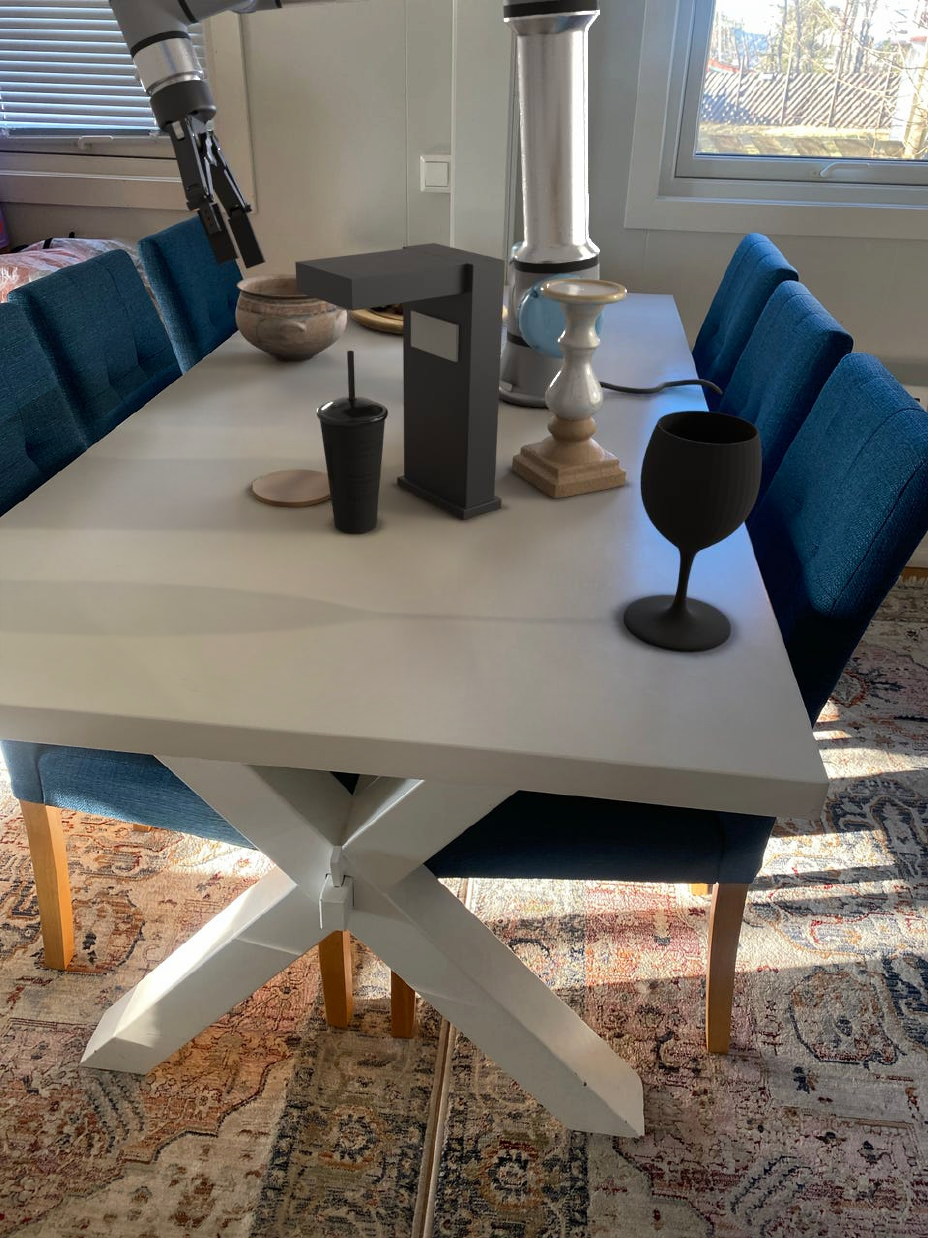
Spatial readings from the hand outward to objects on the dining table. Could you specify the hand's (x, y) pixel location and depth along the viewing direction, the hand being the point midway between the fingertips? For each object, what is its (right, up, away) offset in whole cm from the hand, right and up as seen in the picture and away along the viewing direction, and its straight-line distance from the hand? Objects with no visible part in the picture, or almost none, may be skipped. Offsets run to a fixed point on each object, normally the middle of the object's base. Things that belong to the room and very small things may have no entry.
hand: (243, 263), depth 126 cm
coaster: (+8, -30, -5) cm, 31 cm away
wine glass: (+49, -47, -31) cm, 74 cm away
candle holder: (+42, -28, +1) cm, 50 cm away
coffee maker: (+21, -33, -10) cm, 40 cm away
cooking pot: (-1, 0, +46) cm, 46 cm away
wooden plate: (+21, +15, +72) cm, 77 cm away
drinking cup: (+16, -35, -13) cm, 41 cm away
